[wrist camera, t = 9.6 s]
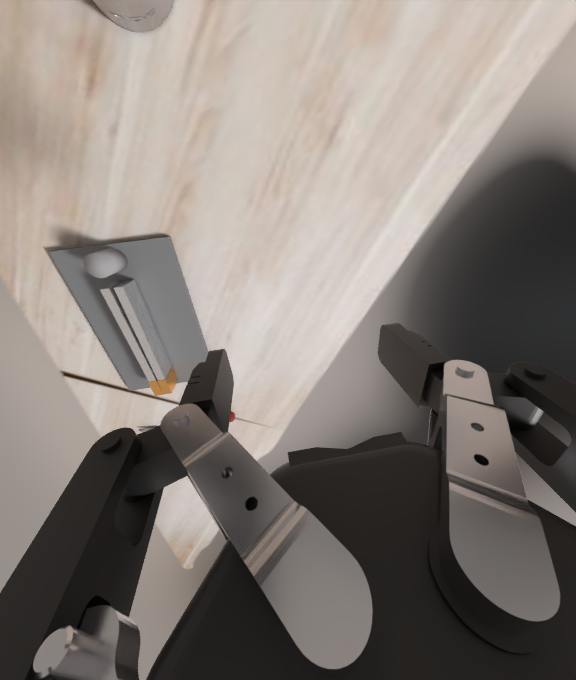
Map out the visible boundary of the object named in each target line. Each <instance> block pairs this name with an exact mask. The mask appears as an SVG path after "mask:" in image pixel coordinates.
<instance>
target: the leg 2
mask: <svg viewBox="0 0 576 680" xmlns="http://www.w3.org/2000/svg"><path fill="white" fill-rule="evenodd" d="M114 290H115V292H116V294H117V296H118V299H119V301H120V303H121V305H122V307H123V309H124V311H125V313H126V315H127V317H128V319H129V321H130V324H131V326H132V328H133V330H134V332H135V334H136V336H137V338H138V340H139V342H140V344H141V346H142V348H143V351H144V353H145V355H146V357H147V359H148V361H149V363H150V365H151V367H152V369H153V371H154V373H155V376H156V378H157V382H158V384H159V386H160V388H161V390H162V392H163V394H169V393H172V391H173V389H174V387H175V385H176V383H177V380H178V378H177V376H176V373H175V371H174V369H173V366H171V364H170V361H169V359H168V357H167V354H166V352H165V350H164V347H163V345H162V343H161V340H160V338H159V336H158V333H157V331H156V329H155V326H154V324H153V322H152V319H151V317H150V315H149V312H148V310H147V308H146V305H145V303H144V300H143V298H142V296H141V293H140V291H139V289H138V286H137V284H136V282H135V280H127V281H125V282H123V283H121V284H119V285H118V286H116V287H114Z"/></svg>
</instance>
